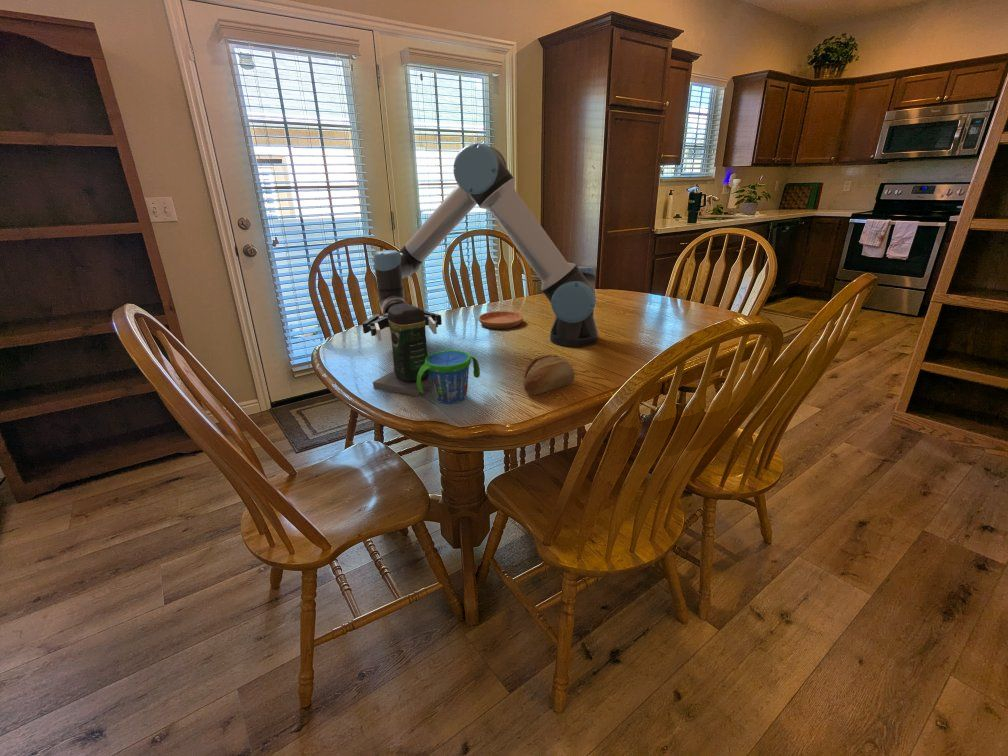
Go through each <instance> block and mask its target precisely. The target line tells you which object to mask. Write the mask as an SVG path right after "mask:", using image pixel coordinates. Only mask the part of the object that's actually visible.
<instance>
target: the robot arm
mask: <svg viewBox="0 0 1008 756" xmlns="http://www.w3.org/2000/svg"><path fill="white" fill-rule="evenodd" d="M453 175H454V176H453V177H454V180H455V182H456V183H457V185H456V186H455V187H454V189H452V191H451V192H450V193H449V194H448V196H446V197H445V199H444V200H443V201H442V202H441V203H440V205H439V206H438V207H437V208H436V209H435V210H434V211H433V213H432V214H431V215H429V217H428V218H427V219H426V220H425V222H423V224H422V225H421V226H420V227H419V229H417V230H416V232H414V234H413V235H412V236H411V237H410V238H409V239H408V241H407V242H406V243H405V244H404V245H403V246H402V248H400V250H399V251H398V250H393V249H392V250H391V249H389V250H387V249H384V250H378V251H376V252H374V254H373V259H374V260H373V261H374V264H373V267H374V271H375V279H376V285H377V294H378V295H377V297H378V299H377V303H378V307H379V309H380V311H381V313H382V316H380V314H378V313H373V314H372V316H371V317H369V318H368V319H367V320H365V321H363V322H362V323H361V325H362V332H363V334H368V333H370V336H371V337H374V336H376V337H377V341H379V342H380V341H382V333H381V330H384V329H386V328H390V326H389V321H388V310H389V308H390V307H391V306H392V305H395V304H402V303H407V302H406V300H405V291H404V284H403V279H405V278H407V277H410V276H412V275H414V274H415V273H416V272H417V271H419V269H420V267H421V265H422V264H423V262H425V260H426V259H427V258H428V257H429V256H430V255H431V253H433V251H435V249H436V248H437V247H438V246H439V245H440V244H441V243H442V242H443V241H444V240H445V239H446V238H447V236H449V234H450V233H451V232H452V231H453V230H454V229H455V228H456V227H457V226H458V225H459V224H460V222H461V221H463V219H465V217H466V216H468V214H469V213H470V212H471V211H472V210H473V208H474V207H476V205H478V207H479V208H480V209H484V210H488V211H489V212H490V214H491V215H492V216H493V218H494V220H496V222H497V223H498V224H499V226H500V227H501V228H502V230H503V231H504V233H505V234H506V235H507V237H509V239H510V241H511V242H512V243H513V245H514V246H515V248H516V249H517V250H518V252H519V253H520V254H521V255H522V257H523V258H524V260H526V262H527V264H528V265H529V266H530V268H531V269H532V270H533V272H534V273H535V274H536V276H537V277H538V278H539V279H540V281H541V286H540V288H541V289H540V290H541V291H542V293H543V295H544V296H545V297H546V298H547V299H548V301H549V302H550V306H551V309H552V312H553V313H554V315H555V318H554V320H553V324H552V326H551V328H550V329H551V330H550V332H549V340H550V341H551V343H553V344H556V345H559V346H563V347H573V348H574V347H575V348H576V347H580V348H581V347H587V346H591V345H594V344H596V343H597V342H598V341H599V332H598V329H597V325H596V321H595V318H594V314H595V313H594V312H595V311H594V310H595V306H596V303H597V301H596V278H597V275H596V273H597V271H596V269H595V267H592V266H577V264H576V263H574V262H568V261H567V260H566V258H565V257H564V255H563V254H562V253H561V252H560V250H559V249H558V248H557V246H556V245H555V243H554V241H552V239H551V237H550V236H549V235H548V233H547V232H546V231H545V229H544V228H543V227H542V225H541V224H540V222H539V221H538V219H536V217H535V216H534V214H533V213H532V211H531V210H530V209H529V208H528V206H527V204H526V203H525V201H524V200H523V199H522V197H521V196H520V195H519V193H518V192H517V190H516V189H515V178H514V177H513V175H512V174H511V172H510V170H509V169H508V166H507V162H506V159H505V157H504V156H503V154H502V153H501V152H500V151H499V150H498V149H496V148H494V147H492V146H488V145H487V144H485V143H481V142H475V143H470V144H467V145H466V146H464V147H462V148H461V149H460V150H459V152H458V153H457V155H456V157H455V159H454V161H453ZM424 315H425V326H428V328H429V329H430V331H431V333H433V334H434V335H436V334H437V333H438V332H437V328H438V327H439V326H441V325H442V323H443V321H442V315H441V314H438V313H436V312H435V313H434V312H431V311H427V310H424Z"/></svg>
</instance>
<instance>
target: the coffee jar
mask: <svg viewBox="0 0 1008 756" xmlns="http://www.w3.org/2000/svg"><path fill="white" fill-rule="evenodd" d="M424 311H425V309H422V308H420V307H418V306H415V305H412V304H409V303H407V302H406V303H402V304H395V305H392V306H391V307H390V308H389V310H388V321H389V326H390V327H389V330H390V338H391V348H392V349H391V350H392V357H393V358H392V360H393V361H392V362H393V371H394V372H395V375H396V376H397V377H398V378H400V379H401V380H403V381H405V382H410V381H415V382H417V375H418V371H419V369H420V367H421V366H422V365H423V364H424V363H425V358H426V357H427V356H429V353H428V344H427V342H428V341H427V335H426V325H425V315H424ZM427 377H429V373H428V371H427V370H426V371H425V372H424V374H423V375H422V377H421V380H423V379H425V378H427Z"/></svg>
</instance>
